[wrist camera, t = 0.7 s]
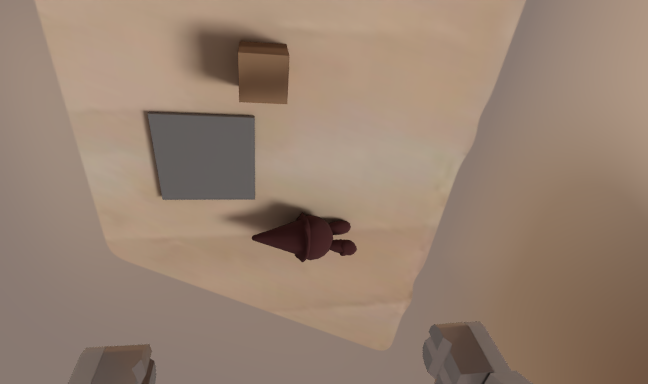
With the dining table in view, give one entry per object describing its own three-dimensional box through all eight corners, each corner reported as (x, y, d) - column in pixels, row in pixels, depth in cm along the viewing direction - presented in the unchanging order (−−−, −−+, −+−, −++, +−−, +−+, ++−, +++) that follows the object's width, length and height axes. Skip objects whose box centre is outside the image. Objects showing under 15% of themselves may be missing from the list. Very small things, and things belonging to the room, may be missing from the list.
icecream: (250, 274, 50) (351, 270, 55) (256, 244, 45) (367, 242, 50) (248, 233, 55) (341, 232, 59) (253, 201, 49) (355, 203, 54)
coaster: (148, 111, 42) (147, 113, 42) (254, 115, 44) (254, 117, 44) (163, 197, 49) (162, 199, 48) (254, 196, 51) (254, 199, 50)
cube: (240, 40, 39) (237, 52, 35) (286, 44, 40) (289, 55, 36) (241, 86, 42) (239, 102, 38) (284, 88, 43) (287, 104, 39)
